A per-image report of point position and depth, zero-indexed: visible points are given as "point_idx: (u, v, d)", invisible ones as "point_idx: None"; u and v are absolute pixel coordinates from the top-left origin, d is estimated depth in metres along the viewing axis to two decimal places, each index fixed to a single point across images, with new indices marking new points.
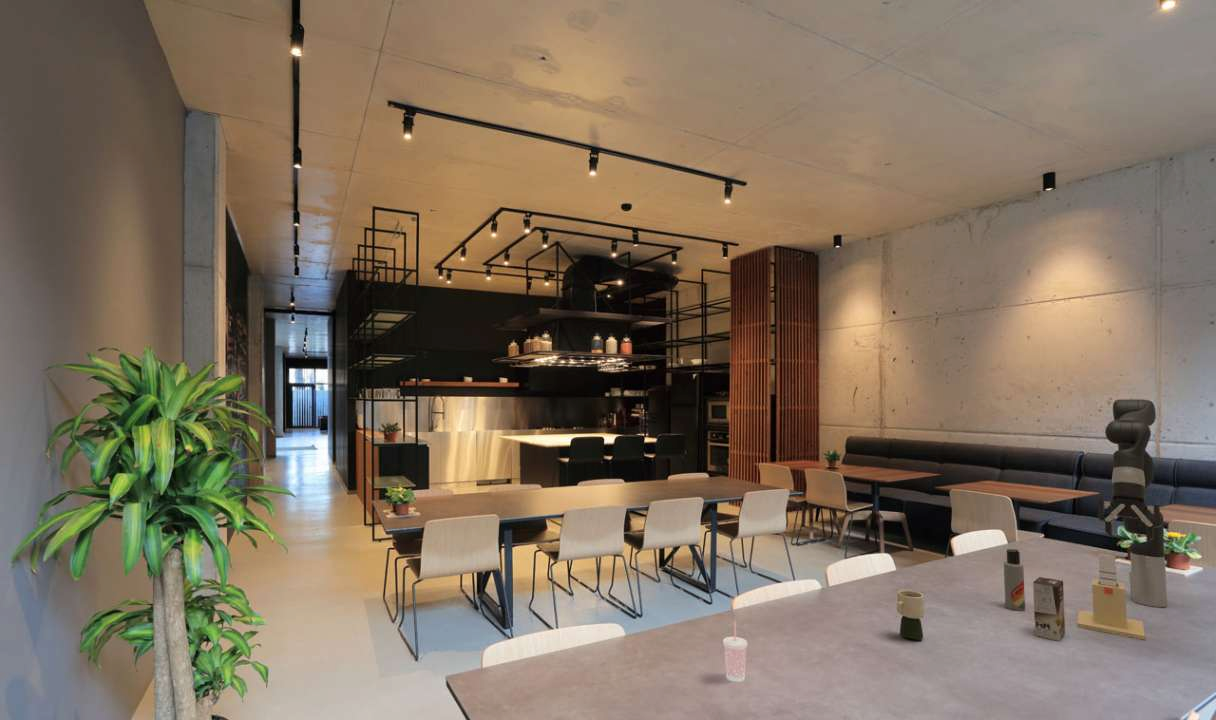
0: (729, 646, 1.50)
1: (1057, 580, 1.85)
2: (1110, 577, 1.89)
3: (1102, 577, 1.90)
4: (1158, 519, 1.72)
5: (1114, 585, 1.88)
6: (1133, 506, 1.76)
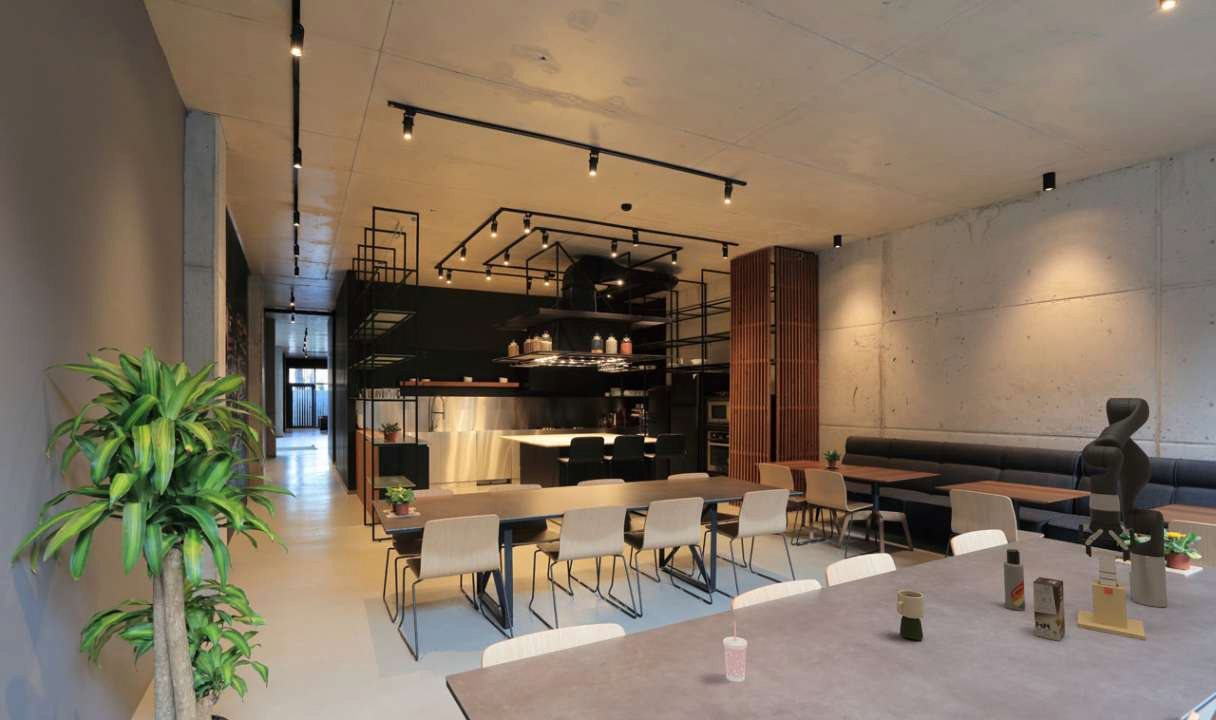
0: (729, 646, 1.50)
1: (1057, 580, 1.85)
2: (1110, 577, 1.89)
3: (1102, 577, 1.90)
4: (1133, 543, 1.87)
5: (1114, 585, 1.88)
6: (1110, 531, 1.90)
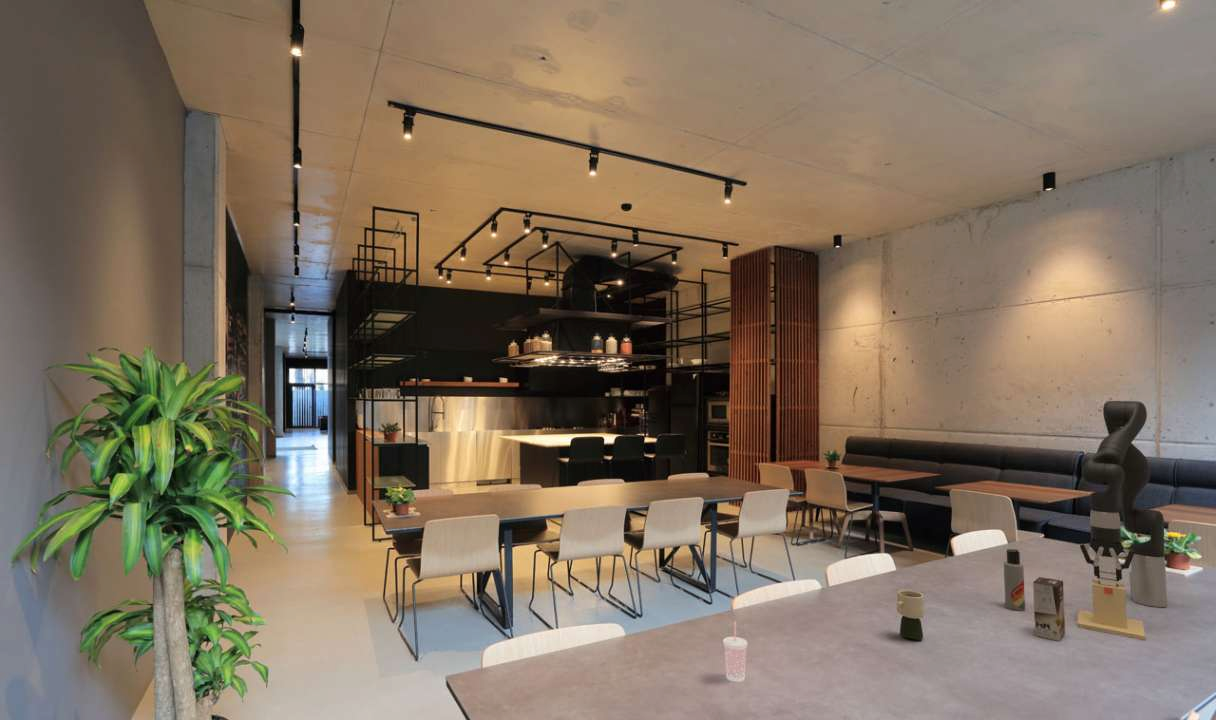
0: (729, 646, 1.50)
1: (1057, 580, 1.85)
2: (1110, 577, 1.89)
3: (1102, 577, 1.90)
4: (1128, 563, 1.87)
5: (1114, 585, 1.88)
6: (1111, 549, 1.89)
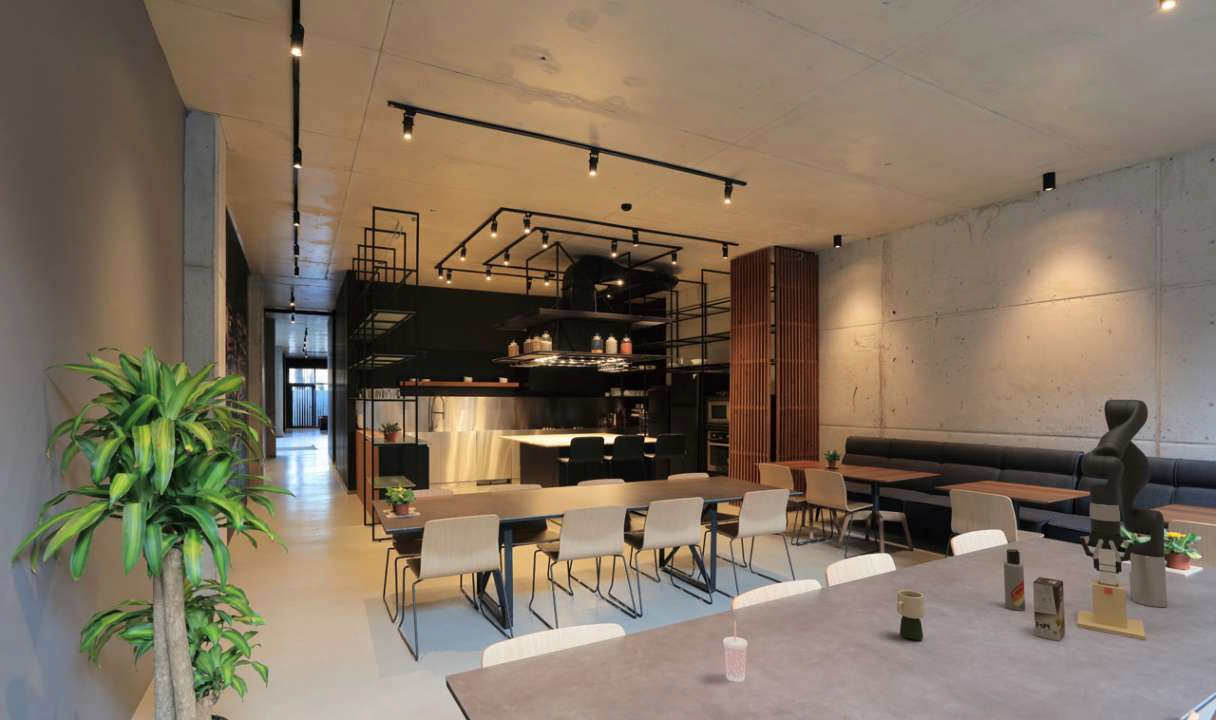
0: (729, 646, 1.50)
1: (1057, 580, 1.85)
2: (1110, 569, 1.89)
3: (1102, 570, 1.90)
4: (1127, 556, 1.87)
5: (1114, 577, 1.89)
6: (1111, 541, 1.89)
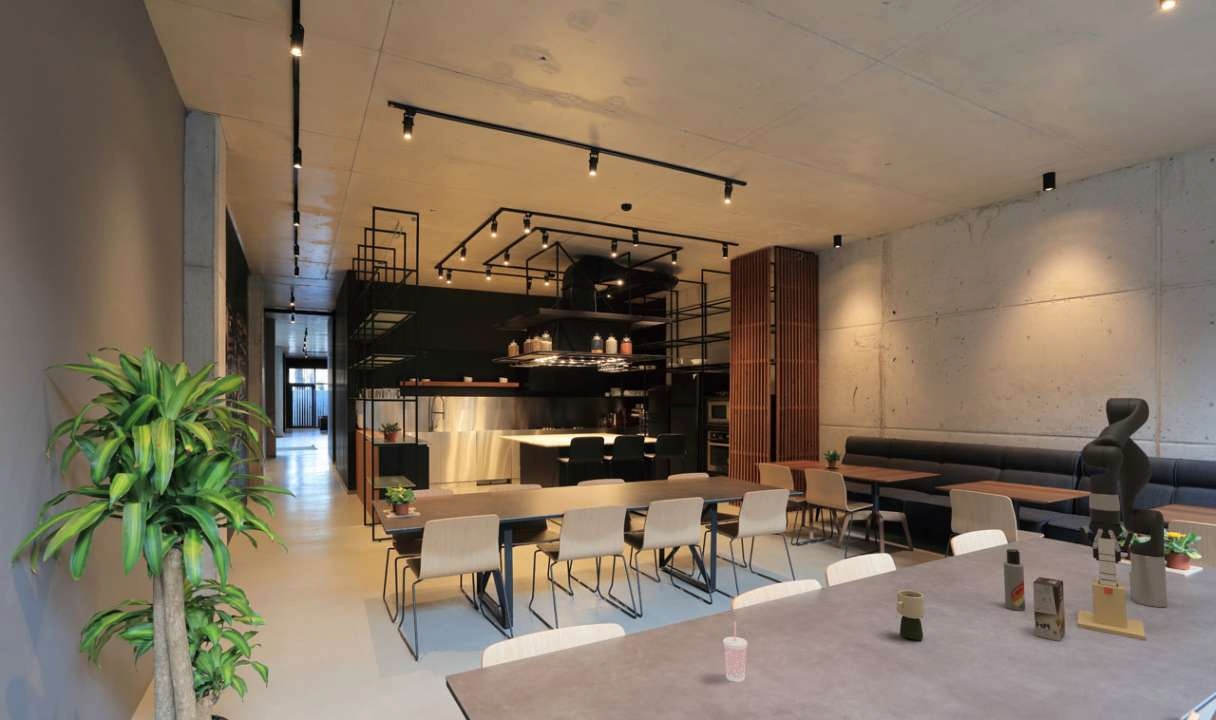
0: (729, 646, 1.50)
1: (1057, 580, 1.85)
2: (1109, 559, 1.89)
3: (1101, 559, 1.91)
4: (1127, 545, 1.88)
5: (1113, 567, 1.89)
6: (1110, 531, 1.90)
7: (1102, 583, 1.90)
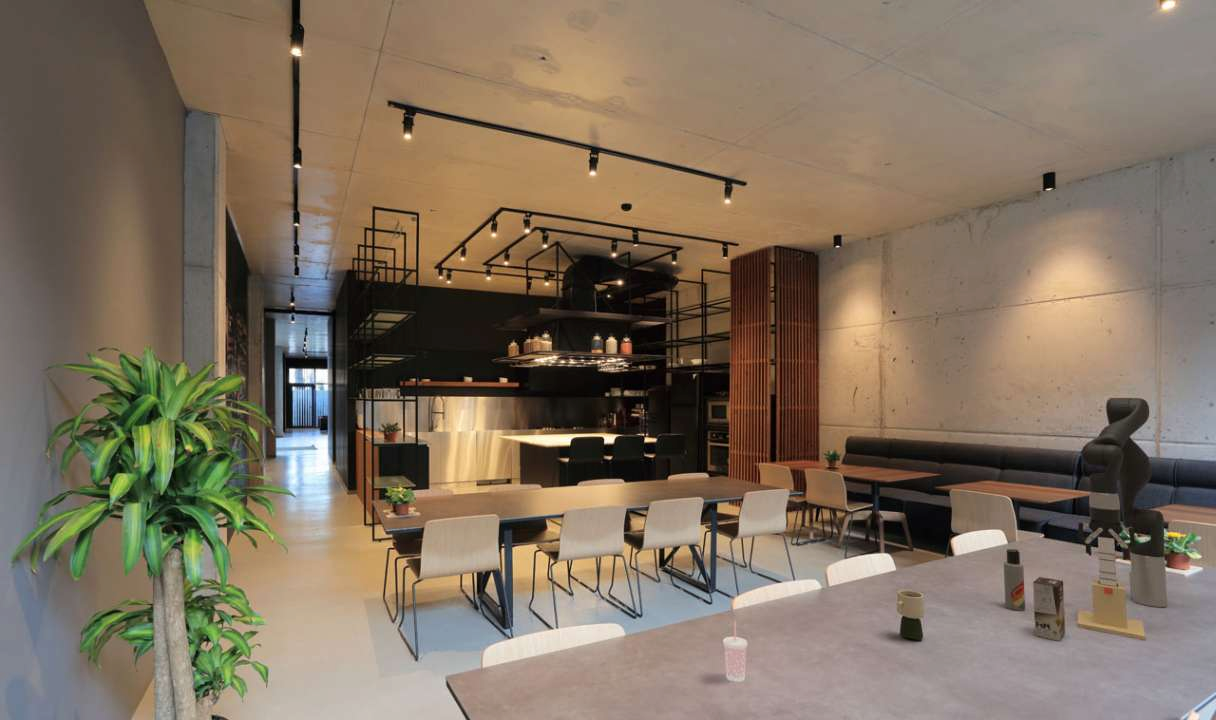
0: (729, 646, 1.50)
1: (1057, 580, 1.85)
2: (1109, 558, 1.89)
3: (1101, 558, 1.91)
4: (1133, 541, 1.87)
5: (1113, 566, 1.89)
6: (1110, 530, 1.90)
7: (1102, 582, 1.90)
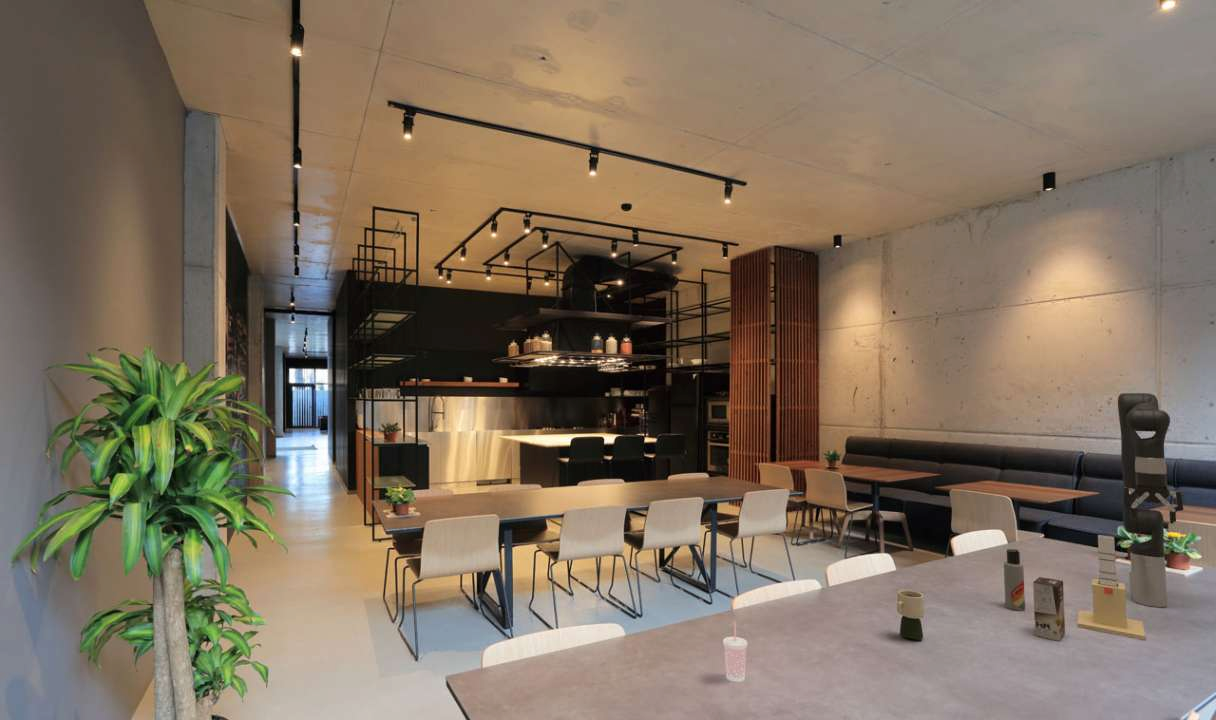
0: (729, 646, 1.50)
1: (1057, 580, 1.85)
2: (1109, 558, 1.89)
3: (1101, 558, 1.91)
4: (1180, 505, 1.88)
5: (1113, 566, 1.89)
6: (1157, 494, 1.91)
7: (1102, 582, 1.90)
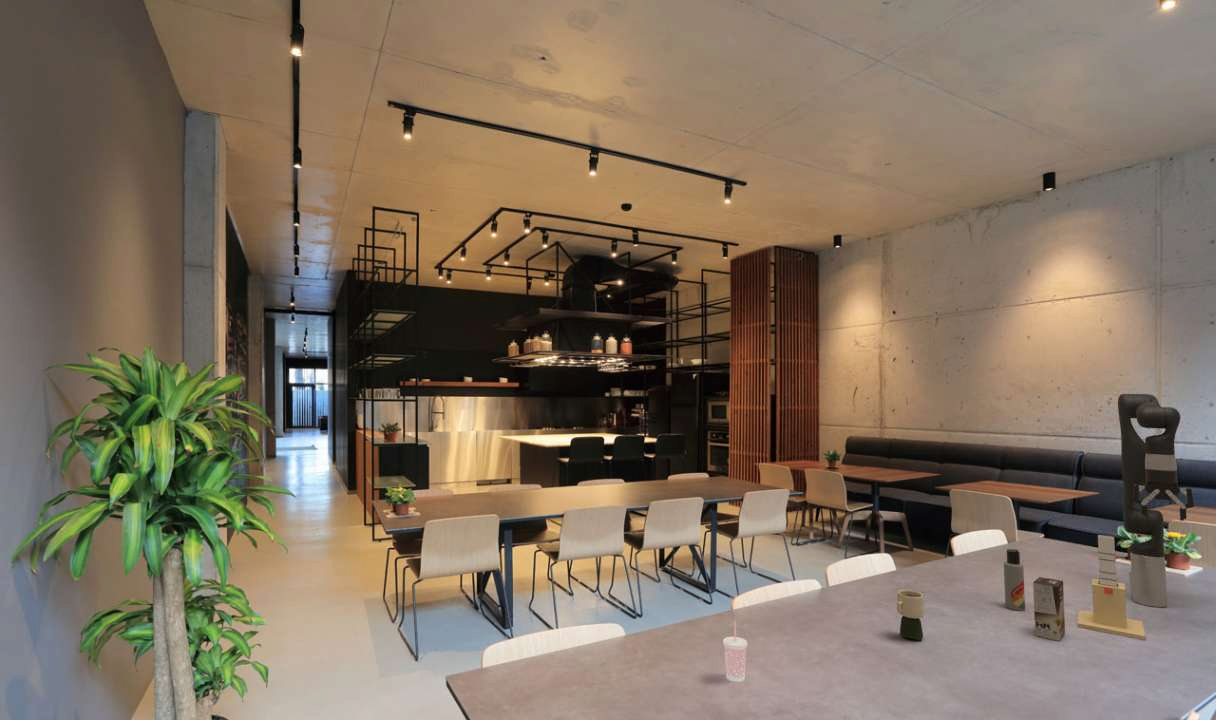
0: (729, 646, 1.50)
1: (1057, 580, 1.85)
2: (1109, 558, 1.89)
3: (1101, 558, 1.91)
4: (1191, 502, 1.88)
5: (1113, 566, 1.89)
6: (1167, 491, 1.91)
7: (1102, 582, 1.90)
